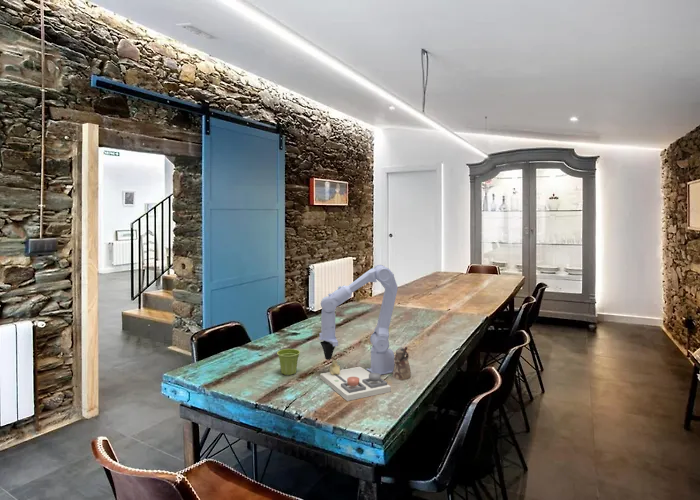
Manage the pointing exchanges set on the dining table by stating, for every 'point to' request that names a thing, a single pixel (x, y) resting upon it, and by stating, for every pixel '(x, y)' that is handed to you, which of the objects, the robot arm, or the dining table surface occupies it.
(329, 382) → the control board
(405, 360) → the figurine
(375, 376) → the grey button
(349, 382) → the red button
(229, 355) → the dining table surface
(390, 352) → the robot arm
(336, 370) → the brass slider
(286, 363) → the plant pot
